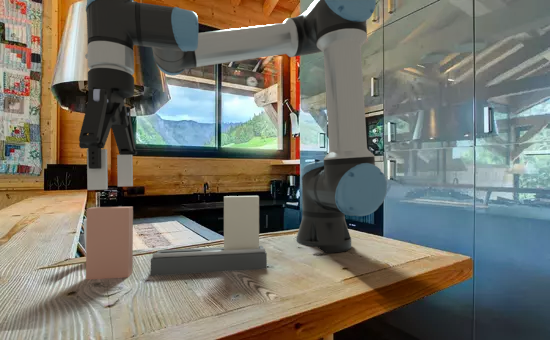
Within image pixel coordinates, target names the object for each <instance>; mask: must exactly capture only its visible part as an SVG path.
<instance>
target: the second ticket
mask: <svg viewBox="0 0 550 340" xmlns="http://www.w3.org/2000/svg"><path fill="white" fill-rule="evenodd" d="M259 246H260V196H259V195H238V196H237V195H229V196H228V195H226V196H223V247H224V250H240V249H259Z"/></svg>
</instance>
